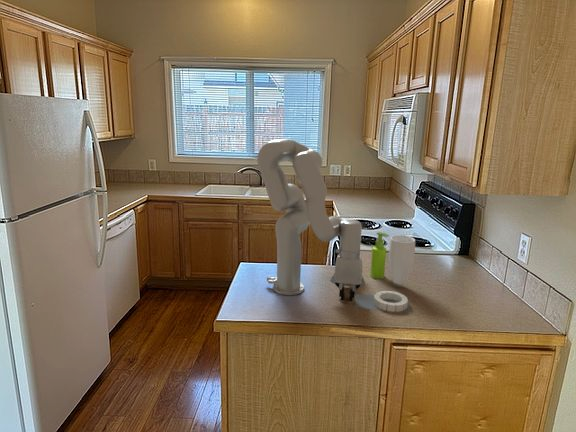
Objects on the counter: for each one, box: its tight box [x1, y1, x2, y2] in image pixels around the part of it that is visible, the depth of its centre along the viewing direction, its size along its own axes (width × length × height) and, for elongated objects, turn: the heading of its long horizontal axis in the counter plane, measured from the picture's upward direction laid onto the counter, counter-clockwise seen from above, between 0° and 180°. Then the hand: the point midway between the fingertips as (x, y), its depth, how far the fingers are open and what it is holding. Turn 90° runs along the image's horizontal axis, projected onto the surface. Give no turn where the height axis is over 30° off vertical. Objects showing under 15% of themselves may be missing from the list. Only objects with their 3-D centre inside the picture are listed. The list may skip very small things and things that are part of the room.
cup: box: [388, 234, 416, 285], centre depth 162 cm, size 10×10×22 cm
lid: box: [337, 285, 355, 304], centre depth 152 cm, size 6×6×6 cm
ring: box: [373, 290, 409, 313], centre depth 149 cm, size 12×12×2 cm
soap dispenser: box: [369, 231, 390, 280], centre depth 174 cm, size 6×7×20 cm
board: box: [354, 293, 412, 315], centre depth 150 cm, size 20×12×1 cm, turn 79°
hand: (346, 298), depth 152 cm, fingers closed on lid, 3 cm apart
